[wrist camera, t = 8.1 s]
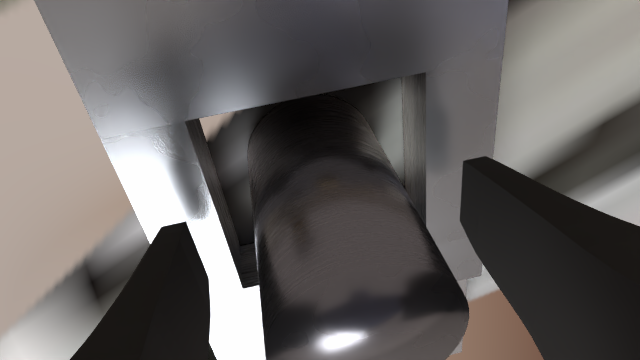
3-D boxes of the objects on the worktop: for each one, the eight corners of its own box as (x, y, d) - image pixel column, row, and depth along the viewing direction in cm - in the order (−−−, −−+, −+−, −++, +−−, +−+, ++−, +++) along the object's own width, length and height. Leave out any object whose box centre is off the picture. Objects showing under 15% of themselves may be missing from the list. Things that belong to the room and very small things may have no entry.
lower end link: (472, -44, 12) (500, -33, 11) (452, 333, 21) (466, 361, 20) (83, 29, 11) (67, 49, 10) (237, 385, 21) (239, 418, 19)
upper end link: (482, -250, 10) (552, -280, 8) (457, 237, 18) (487, 286, 16) (-5, -174, 9) (-69, -185, 7) (199, 297, 17) (197, 355, 15)
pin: (369, 83, 14) (476, 242, 8) (376, 191, 16) (462, 374, 10) (234, 109, 13) (243, 294, 8) (261, 215, 16) (284, 417, 10)
